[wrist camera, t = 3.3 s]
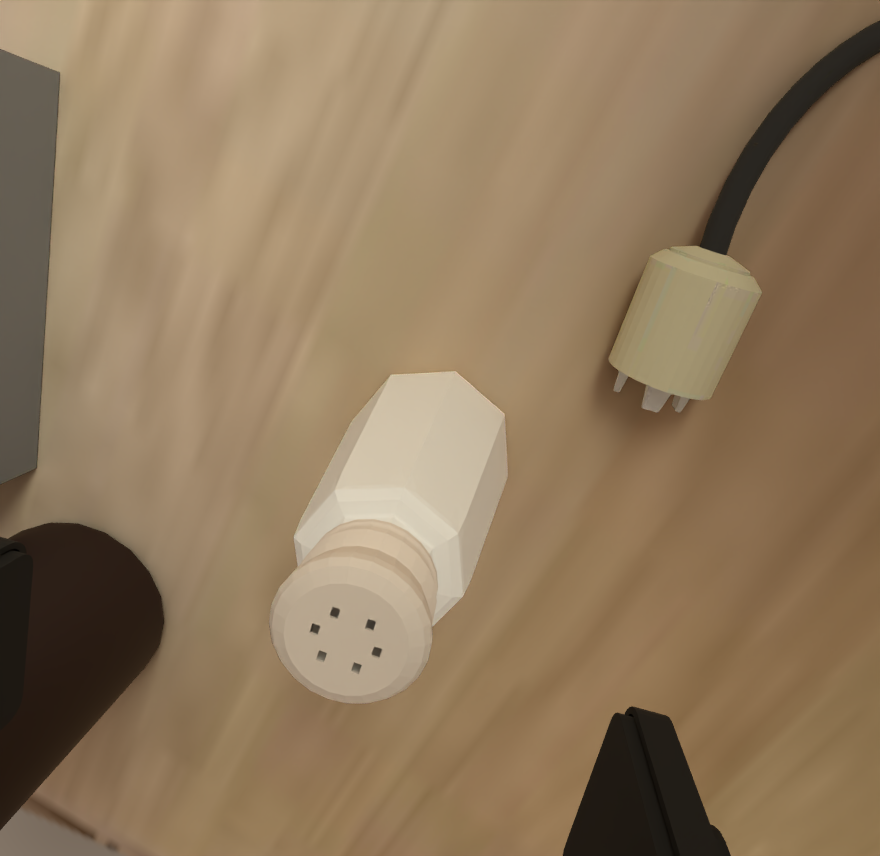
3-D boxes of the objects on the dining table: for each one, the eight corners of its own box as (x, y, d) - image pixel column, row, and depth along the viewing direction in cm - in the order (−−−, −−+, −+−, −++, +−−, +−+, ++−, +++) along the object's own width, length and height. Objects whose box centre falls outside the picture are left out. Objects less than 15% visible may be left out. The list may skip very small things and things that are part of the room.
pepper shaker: (331, 492, 22) (161, 714, 11) (375, 342, 20) (227, 438, 10) (481, 545, 22) (449, 817, 11) (537, 398, 20) (560, 555, 10)
